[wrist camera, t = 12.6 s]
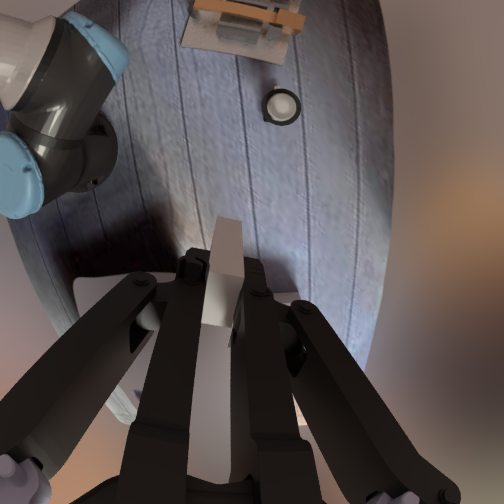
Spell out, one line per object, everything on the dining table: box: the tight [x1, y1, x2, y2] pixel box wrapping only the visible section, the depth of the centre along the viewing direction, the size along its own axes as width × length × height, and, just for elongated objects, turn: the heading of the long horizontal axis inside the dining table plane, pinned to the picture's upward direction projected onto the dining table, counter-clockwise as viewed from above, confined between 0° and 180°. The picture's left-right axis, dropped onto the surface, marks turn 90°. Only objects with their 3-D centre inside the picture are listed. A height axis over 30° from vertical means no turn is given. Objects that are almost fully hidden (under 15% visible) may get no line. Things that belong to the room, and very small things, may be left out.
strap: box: [193, 0, 306, 36], centre depth 30 cm, size 16×3×3 cm, turn 76°
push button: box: [262, 86, 301, 126], centre depth 38 cm, size 7×5×10 cm
